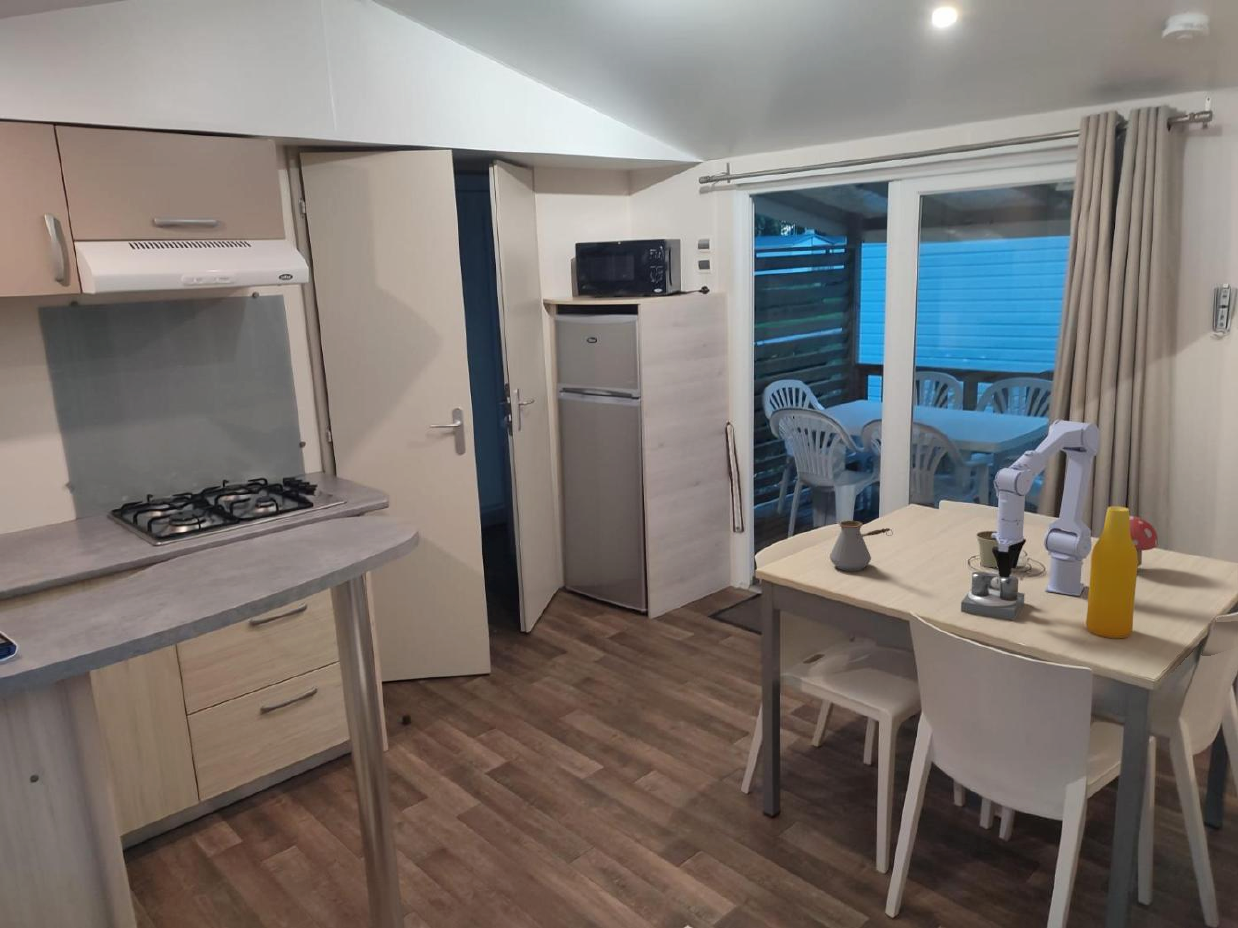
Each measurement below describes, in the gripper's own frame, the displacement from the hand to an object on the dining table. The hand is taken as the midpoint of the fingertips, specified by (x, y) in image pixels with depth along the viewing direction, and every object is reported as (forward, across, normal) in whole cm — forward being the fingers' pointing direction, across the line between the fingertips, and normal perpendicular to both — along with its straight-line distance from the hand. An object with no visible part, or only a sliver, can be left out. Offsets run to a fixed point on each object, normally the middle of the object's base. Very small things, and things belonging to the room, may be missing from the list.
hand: (1007, 572), depth 212 cm
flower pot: (+10, -34, -10) cm, 37 cm away
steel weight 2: (+7, 0, 0) cm, 7 cm away
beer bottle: (+10, +2, +22) cm, 25 cm away
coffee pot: (+10, -12, -40) cm, 43 cm away
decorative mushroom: (+10, -46, +22) cm, 52 cm away
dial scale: (+10, -1, -3) cm, 10 cm away
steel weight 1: (+7, 0, -6) cm, 9 cm away
